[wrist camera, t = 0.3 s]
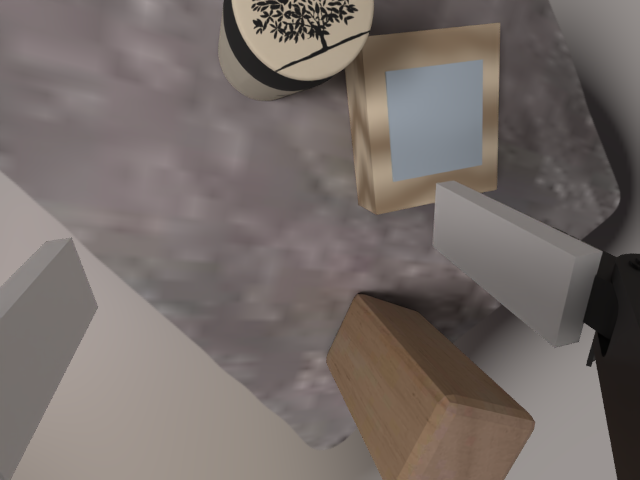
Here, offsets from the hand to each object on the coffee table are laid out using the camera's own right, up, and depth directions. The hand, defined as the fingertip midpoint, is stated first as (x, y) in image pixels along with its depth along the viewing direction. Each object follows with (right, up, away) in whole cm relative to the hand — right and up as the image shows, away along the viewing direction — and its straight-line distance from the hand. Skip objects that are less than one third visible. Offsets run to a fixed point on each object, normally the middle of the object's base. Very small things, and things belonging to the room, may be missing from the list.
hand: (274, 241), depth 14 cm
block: (+8, -12, +35) cm, 37 cm away
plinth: (+12, +13, +28) cm, 33 cm away
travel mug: (-4, +17, +22) cm, 28 cm away
